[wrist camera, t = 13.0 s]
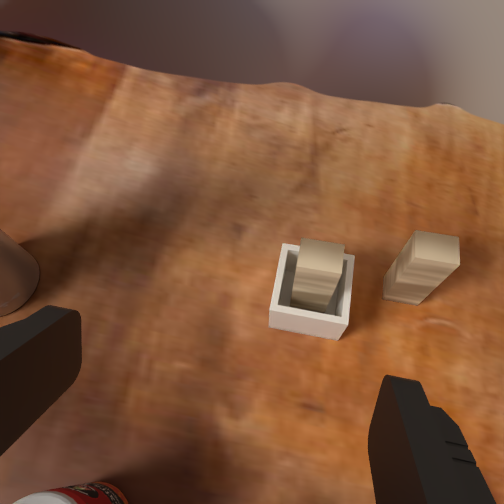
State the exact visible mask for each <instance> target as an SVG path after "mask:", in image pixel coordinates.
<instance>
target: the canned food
mask: <svg viewBox="0 0 504 504" xmlns="http://www.w3.org/2000/svg"><path fill="white" fill-rule="evenodd" d="M13 504H128V501H127V500H126V498H125V496H124V495H123V493H122V492H121V491H120V490H119V489H118V488H116V487H115V486H113V485H111V484H108V483H105V482H92V483H86V484H80V485H74V486H68V487H62V488H56V489H51V490H46V491H42V492H37V493H33V494H31V495H29V496H26V497H24V498H22V499H19V500H18V501H16V502H15V503H13Z"/></svg>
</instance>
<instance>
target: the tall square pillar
mask: <svg viewBox="0 0 504 504" xmlns="http://www.w3.org/2000/svg"><path fill="white" fill-rule="evenodd" d="M344 247H345V244H338V243H332V242H326V241H320V240H314V239H307V238H301V243H300V248H299V254H298V260H297V265H296V271H295V277H294V282H293V288H292V294H291V300H290V306H289V307H292V308H297V309H302V310H307V311H313V312H318V313H323V314H324V313H325V311H326V309H327V306H328V304H329V302H330V299H331V297H332V295H333V293H334V290H335V288H336V286H337V283H338V281H339V279H340V277H341V274H342V267H343V257H344Z"/></svg>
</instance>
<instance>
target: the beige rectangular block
mask: <svg viewBox="0 0 504 504" xmlns="http://www.w3.org/2000/svg"><path fill="white" fill-rule="evenodd" d="M459 265H460V251H459V237H456V236H450V235H444V234H437V233H431V232H425V231H418V230H415V232H414V233H413V234H412V236H411V237H410V239H409V240H408V242H407V243H406V245H405V246H404V248H403V249H402V251H401V252H400V253H399V255H398V256H397V258H396V259H395V261H394V262H393V264H392V265H391V267H390V268H389V269H388V271H387V272H386V274H385V275H384V279H383V297H382V299H383V300H389V301H394V302H400V303H405V304H411V305H416V306H417V305H418V304H419V303H420V302H421V301H423V300H424V299H425V298H426V297H427V296H428V295H429V294H430V293H431V292H432V291H433V290H434V289H435V288H436V287H437V286H438V285H439V284H440V283H441V282H443V281H444V280H445V279H446V278H447V277H448V276H449V275H450V274H451V273H452V272H453V271H454V270H455V269H456V268H457V267H458V266H459Z"/></svg>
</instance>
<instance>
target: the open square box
mask: <svg viewBox="0 0 504 504" xmlns="http://www.w3.org/2000/svg"><path fill="white" fill-rule="evenodd" d="M299 248H300V246H297V245H291V244H285V243H283V244H282V249H281V254H280V259H279V264H278V269H277V274H276V279H275V285H274V290H273V295H272V300H271V305H270V310H269V327H271V328H276V329H281V330H286V331H291V332H296V333H301V334H306V335H311V336H316V337H321V338H326V339H332V340H337V341H338V339H339V338H340V336H341V335H342V333H343V332H344V330H345V329H346V327H347V326H348V321H349V311H350V300H351V290H352V279H353V269H354V259H355V255H350V254H344V257H343V267H342V274H341V277H340V279H339V281H338V283H337V286H336V288H335V290H334V293H333V295H332V297H331V299H330V302H329V304H328V306H327V309H326V311H325V313H324V314H323V313H318V312H313V311H307V310H302V309H297V308H292V307H289V306H290V300H291V294H292V288H293V282H294V277H295V271H296V265H297V260H298V254H299Z"/></svg>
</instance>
